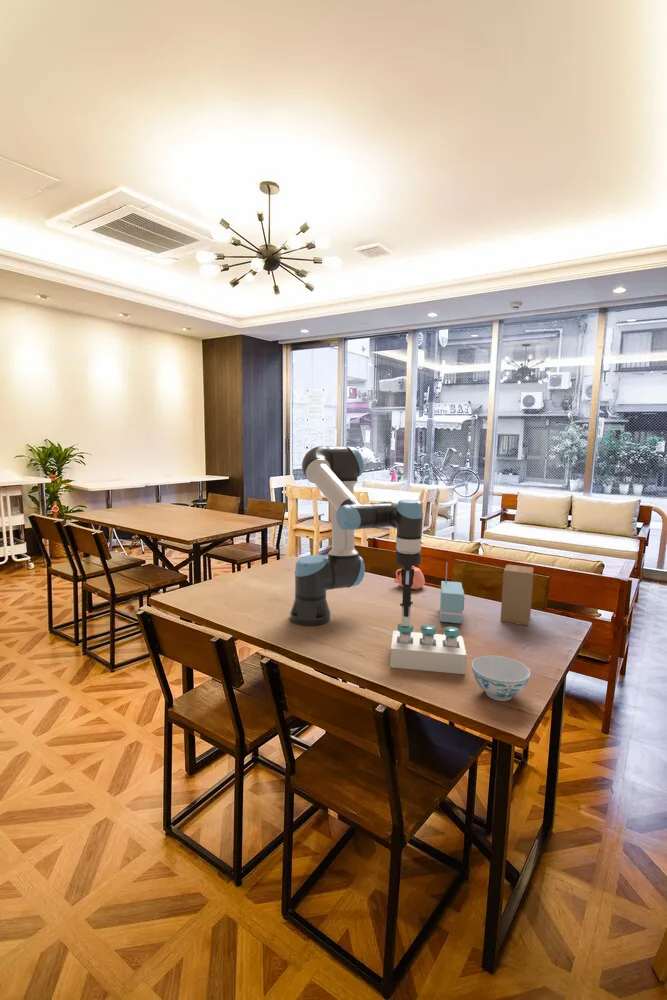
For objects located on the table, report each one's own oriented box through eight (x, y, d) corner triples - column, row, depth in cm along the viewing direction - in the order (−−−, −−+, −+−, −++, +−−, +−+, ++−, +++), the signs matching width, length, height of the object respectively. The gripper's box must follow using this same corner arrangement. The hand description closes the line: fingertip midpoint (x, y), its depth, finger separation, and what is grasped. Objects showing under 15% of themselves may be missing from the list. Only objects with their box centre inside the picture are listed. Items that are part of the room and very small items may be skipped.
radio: (465, 626, 185) (467, 573, 183) (440, 623, 187) (442, 571, 184) (462, 611, 201) (465, 562, 198) (439, 609, 203) (442, 561, 200)
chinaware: (467, 702, 132) (469, 674, 131) (473, 677, 146) (474, 651, 145) (528, 714, 127) (530, 685, 126) (528, 687, 141) (530, 661, 140)
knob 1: (396, 657, 155) (397, 628, 154) (397, 650, 160) (398, 622, 159) (412, 658, 155) (413, 629, 153) (412, 652, 159) (413, 623, 158)
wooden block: (530, 617, 195) (533, 567, 193) (528, 626, 186) (532, 573, 184) (503, 613, 199) (506, 564, 197) (500, 621, 190) (503, 570, 188)
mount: (390, 667, 151) (390, 648, 151) (392, 647, 165) (393, 630, 164) (465, 674, 148) (466, 655, 147) (461, 653, 161) (462, 636, 161)
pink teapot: (426, 591, 225) (427, 569, 223) (395, 591, 225) (396, 568, 224) (422, 583, 237) (423, 562, 236) (392, 582, 237) (393, 561, 236)
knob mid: (419, 659, 154) (420, 630, 153) (419, 652, 159) (420, 624, 158) (435, 660, 154) (436, 631, 152) (434, 654, 158) (436, 625, 157)
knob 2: (442, 661, 153) (444, 632, 152) (441, 654, 158) (443, 626, 157) (458, 662, 152) (460, 633, 151) (457, 656, 157) (459, 627, 156)
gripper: (421, 556, 146) (417, 634, 149) (421, 547, 159) (418, 618, 162) (395, 555, 147) (392, 632, 150) (397, 545, 160) (394, 616, 163)
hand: (405, 625), depth 156 cm, fingers closed
